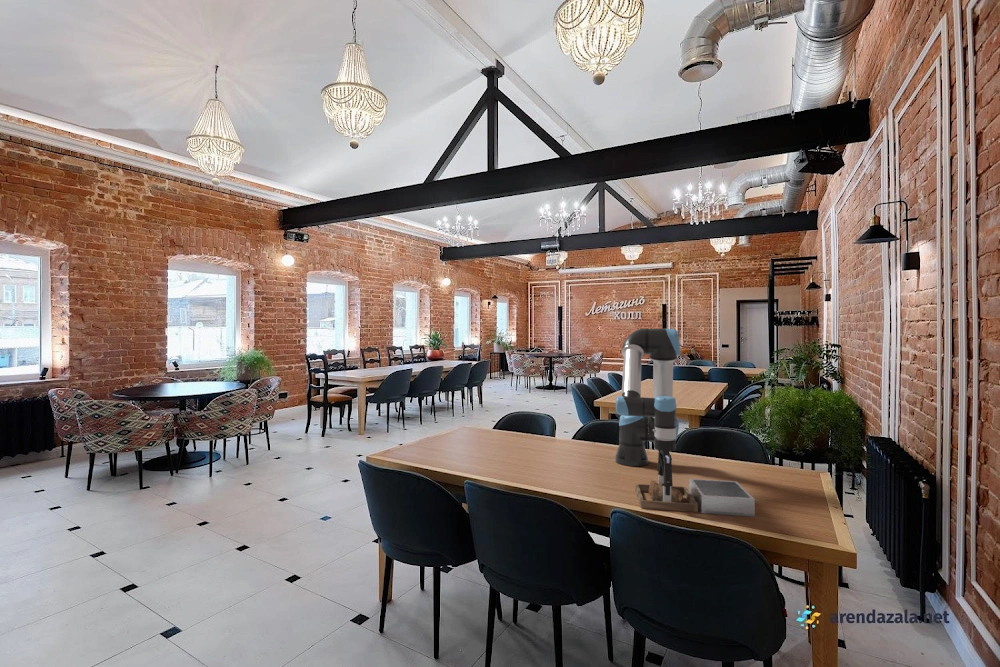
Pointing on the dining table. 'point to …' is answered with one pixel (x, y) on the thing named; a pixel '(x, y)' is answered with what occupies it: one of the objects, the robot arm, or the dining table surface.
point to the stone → (657, 493)
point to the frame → (662, 505)
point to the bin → (722, 497)
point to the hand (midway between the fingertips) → (664, 498)
